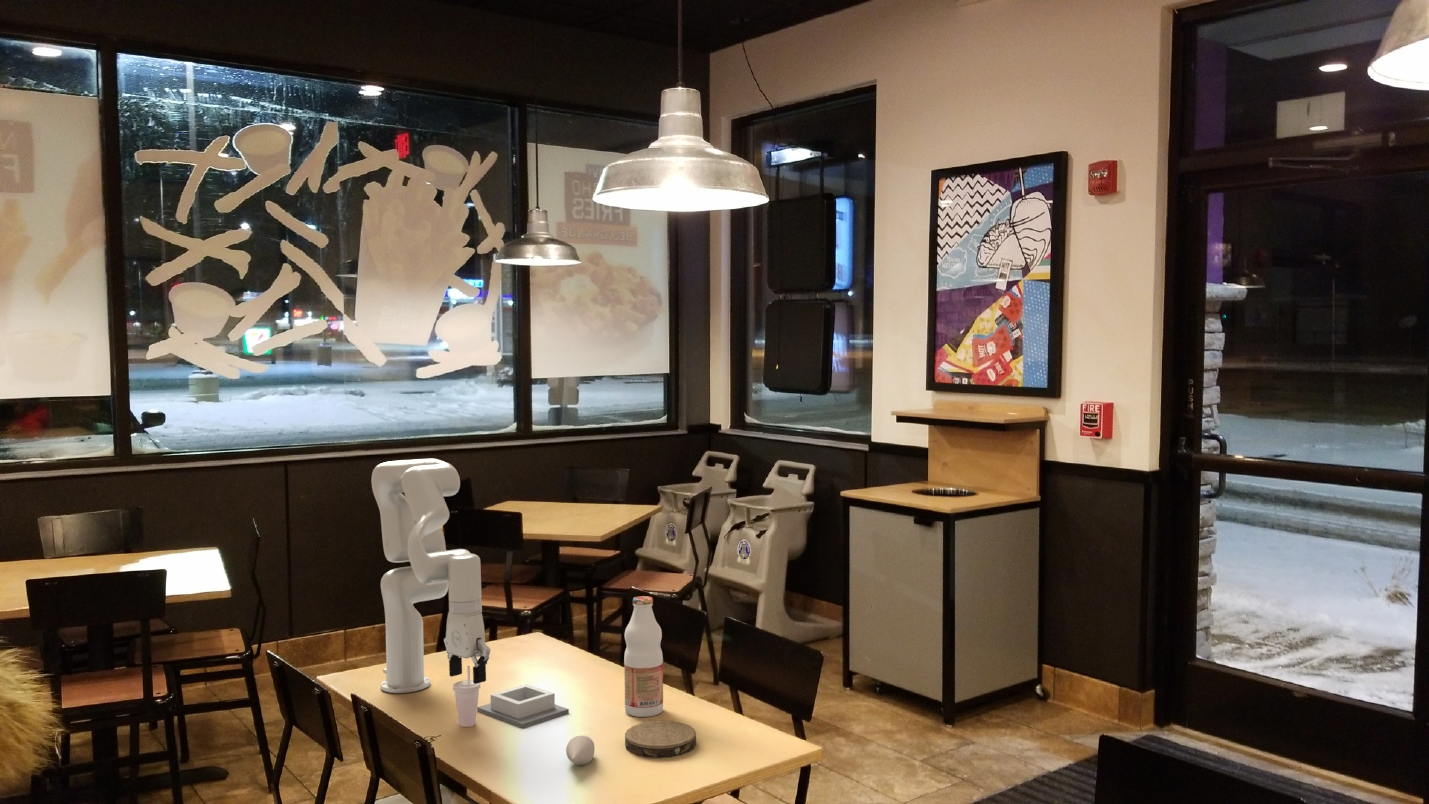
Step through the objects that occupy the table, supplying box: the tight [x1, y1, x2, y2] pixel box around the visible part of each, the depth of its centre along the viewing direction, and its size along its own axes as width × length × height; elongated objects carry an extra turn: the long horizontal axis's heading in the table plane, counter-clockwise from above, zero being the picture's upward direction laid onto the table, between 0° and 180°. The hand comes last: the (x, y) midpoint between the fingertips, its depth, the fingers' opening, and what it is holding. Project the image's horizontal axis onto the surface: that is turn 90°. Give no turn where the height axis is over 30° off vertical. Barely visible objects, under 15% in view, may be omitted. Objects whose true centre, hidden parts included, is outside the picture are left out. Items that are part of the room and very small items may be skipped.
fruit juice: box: [623, 595, 664, 718], centre depth 262 cm, size 9×9×28 cm
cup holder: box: [477, 684, 570, 729], centre depth 262 cm, size 18×14×4 cm
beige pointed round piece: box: [565, 735, 596, 766], centre depth 228 cm, size 6×6×15 cm
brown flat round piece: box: [624, 720, 697, 759], centre depth 240 cm, size 16×16×3 cm
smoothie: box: [452, 665, 481, 728], centre depth 254 cm, size 6×6×14 cm
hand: (467, 678), depth 253 cm, fingers open, 9 cm apart
